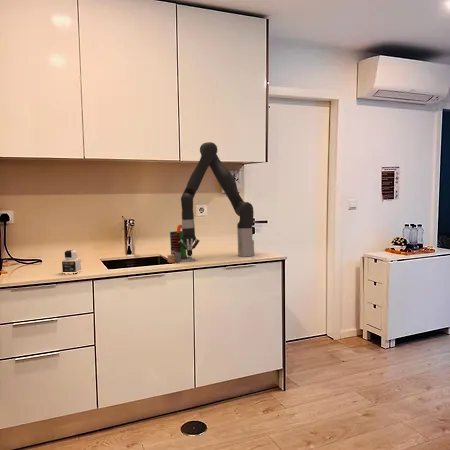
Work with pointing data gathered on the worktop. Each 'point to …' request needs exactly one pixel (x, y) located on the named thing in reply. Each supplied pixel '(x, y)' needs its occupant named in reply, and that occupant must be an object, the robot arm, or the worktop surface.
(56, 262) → the worktop surface
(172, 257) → the plug
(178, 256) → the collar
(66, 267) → the medicine bottle
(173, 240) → the motor
